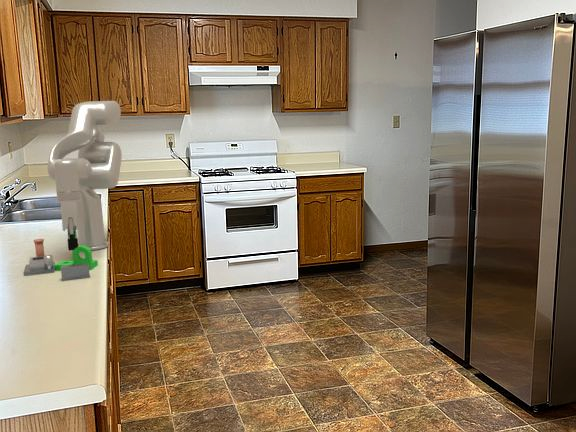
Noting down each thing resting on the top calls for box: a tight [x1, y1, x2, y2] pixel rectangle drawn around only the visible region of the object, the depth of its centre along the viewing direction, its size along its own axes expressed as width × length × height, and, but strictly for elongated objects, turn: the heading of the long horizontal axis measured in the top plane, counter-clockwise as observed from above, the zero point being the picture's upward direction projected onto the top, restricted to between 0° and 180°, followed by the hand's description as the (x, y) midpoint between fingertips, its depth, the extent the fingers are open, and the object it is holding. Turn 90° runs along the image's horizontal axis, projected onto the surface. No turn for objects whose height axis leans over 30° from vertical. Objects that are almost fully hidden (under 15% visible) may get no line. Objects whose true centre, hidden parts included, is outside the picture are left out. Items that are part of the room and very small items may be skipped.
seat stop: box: [60, 263, 91, 282], centre depth 176 cm, size 3×8×4 cm, turn 110°
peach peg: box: [32, 238, 46, 257], centre depth 193 cm, size 3×3×9 cm
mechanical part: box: [54, 245, 99, 272], centre depth 188 cm, size 12×6×8 cm, turn 86°
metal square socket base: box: [23, 254, 56, 277], centre depth 186 cm, size 10×9×5 cm
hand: (73, 249), depth 196 cm, fingers closed
